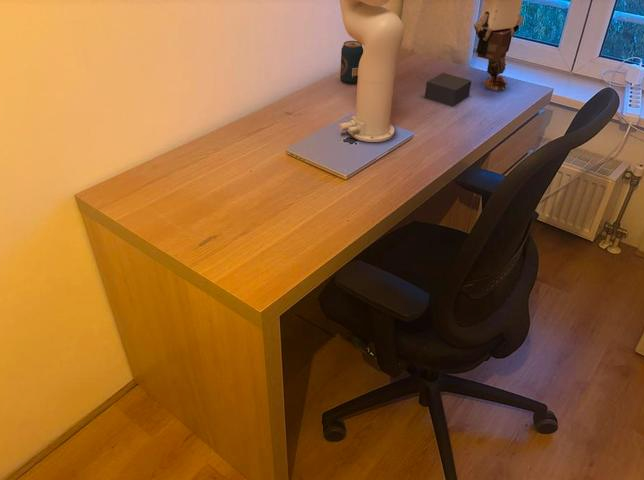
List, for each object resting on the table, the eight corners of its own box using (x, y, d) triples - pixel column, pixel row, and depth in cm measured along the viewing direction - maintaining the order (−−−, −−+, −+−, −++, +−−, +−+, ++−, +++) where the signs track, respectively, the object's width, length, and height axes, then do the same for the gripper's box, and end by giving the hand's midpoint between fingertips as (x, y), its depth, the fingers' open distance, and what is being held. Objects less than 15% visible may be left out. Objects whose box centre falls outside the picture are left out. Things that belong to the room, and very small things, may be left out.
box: (505, 57, 152) (512, 30, 147) (495, 62, 148) (502, 34, 144) (486, 52, 155) (492, 25, 150) (476, 56, 151) (482, 29, 147)
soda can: (337, 78, 177) (338, 41, 169) (356, 76, 179) (359, 39, 171) (344, 86, 172) (346, 48, 164) (364, 84, 174) (367, 46, 166)
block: (452, 106, 162) (455, 90, 158) (424, 97, 167) (426, 81, 163) (468, 96, 168) (471, 80, 164) (440, 87, 172) (443, 72, 169)
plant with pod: (473, 88, 172) (487, 22, 159) (489, 78, 179) (504, 14, 166) (497, 95, 169) (513, 28, 155) (512, 84, 175) (529, 19, 162)
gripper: (523, -23, 145) (506, 44, 156) (473, -19, 139) (459, 51, 150) (544, -17, 140) (524, 52, 151) (492, -12, 134) (476, 60, 145)
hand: (492, 51), depth 151 cm, fingers closed on box, 7 cm apart
